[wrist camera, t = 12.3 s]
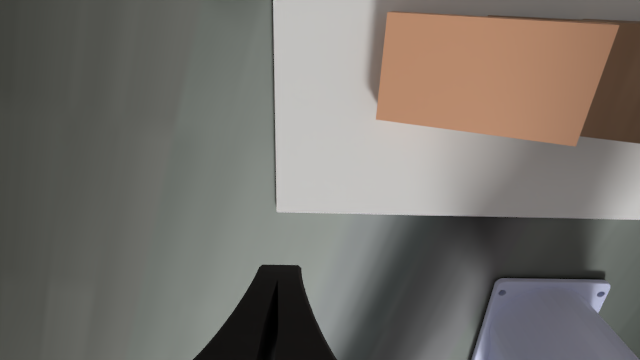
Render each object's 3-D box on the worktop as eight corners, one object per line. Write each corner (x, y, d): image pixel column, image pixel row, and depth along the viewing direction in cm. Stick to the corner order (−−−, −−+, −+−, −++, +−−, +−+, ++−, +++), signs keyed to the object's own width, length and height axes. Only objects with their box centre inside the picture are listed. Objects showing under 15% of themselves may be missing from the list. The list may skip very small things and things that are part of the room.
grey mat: (740, 218, 25) (746, 221, 24) (277, 208, 24) (276, 212, 23) (920, -76, 18) (933, -77, 17) (272, -107, 17) (271, -109, 16)
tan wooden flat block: (393, 11, 18) (606, 22, 16) (381, 111, 21) (567, 135, 18) (387, 12, 17) (619, 25, 15) (375, 119, 19) (576, 146, 17)
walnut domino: (487, 14, 19) (713, 26, 16) (467, 114, 21) (663, 137, 18) (489, 16, 17) (737, 28, 15) (467, 122, 19) (679, 148, 17)
